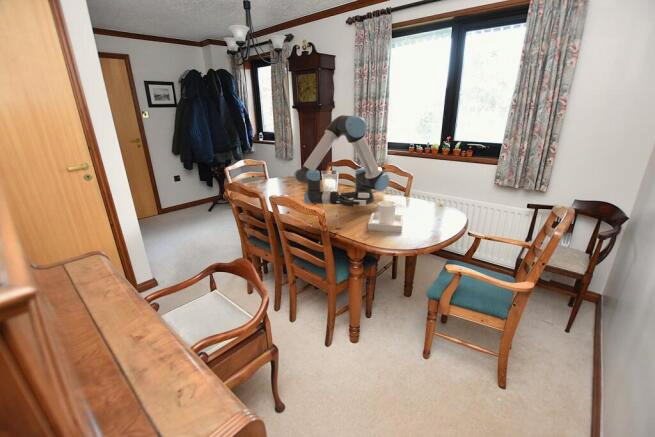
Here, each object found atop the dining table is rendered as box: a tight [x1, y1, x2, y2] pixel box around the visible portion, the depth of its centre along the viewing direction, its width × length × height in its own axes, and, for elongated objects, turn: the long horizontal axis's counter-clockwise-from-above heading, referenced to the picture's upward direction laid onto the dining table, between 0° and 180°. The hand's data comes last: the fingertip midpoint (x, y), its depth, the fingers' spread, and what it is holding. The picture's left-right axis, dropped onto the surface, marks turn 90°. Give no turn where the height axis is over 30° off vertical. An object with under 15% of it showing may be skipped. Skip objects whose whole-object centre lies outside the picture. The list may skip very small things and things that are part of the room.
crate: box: [367, 212, 404, 234], centre depth 175 cm, size 18×18×4 cm
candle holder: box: [377, 200, 397, 225], centre depth 173 cm, size 10×10×12 cm
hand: (367, 199), depth 173 cm, fingers open, 13 cm apart
